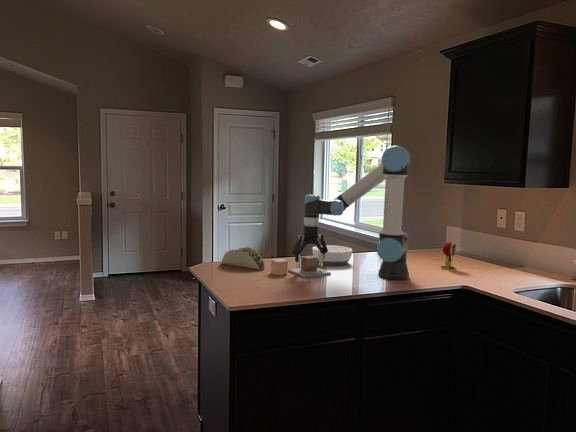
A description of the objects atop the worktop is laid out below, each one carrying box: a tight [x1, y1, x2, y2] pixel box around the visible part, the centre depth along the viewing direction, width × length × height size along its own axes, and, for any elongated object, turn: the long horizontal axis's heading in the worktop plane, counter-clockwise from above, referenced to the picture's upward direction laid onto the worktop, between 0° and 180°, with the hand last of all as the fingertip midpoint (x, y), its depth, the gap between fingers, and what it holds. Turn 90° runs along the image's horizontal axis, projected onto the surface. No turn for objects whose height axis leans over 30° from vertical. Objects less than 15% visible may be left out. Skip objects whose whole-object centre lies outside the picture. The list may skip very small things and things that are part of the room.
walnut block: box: [300, 255, 318, 272], centre depth 252 cm, size 6×6×7 cm
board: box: [287, 267, 332, 279], centre depth 253 cm, size 15×16×1 cm
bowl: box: [312, 244, 353, 267], centre depth 280 cm, size 22×22×8 cm
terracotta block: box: [270, 258, 289, 276], centre depth 249 cm, size 6×6×7 cm
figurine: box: [438, 241, 457, 272], centre depth 274 cm, size 9×10×15 cm
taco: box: [220, 246, 266, 271], centre depth 263 cm, size 10×27×10 cm, turn 58°
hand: (309, 267), depth 252 cm, fingers open, 13 cm apart
